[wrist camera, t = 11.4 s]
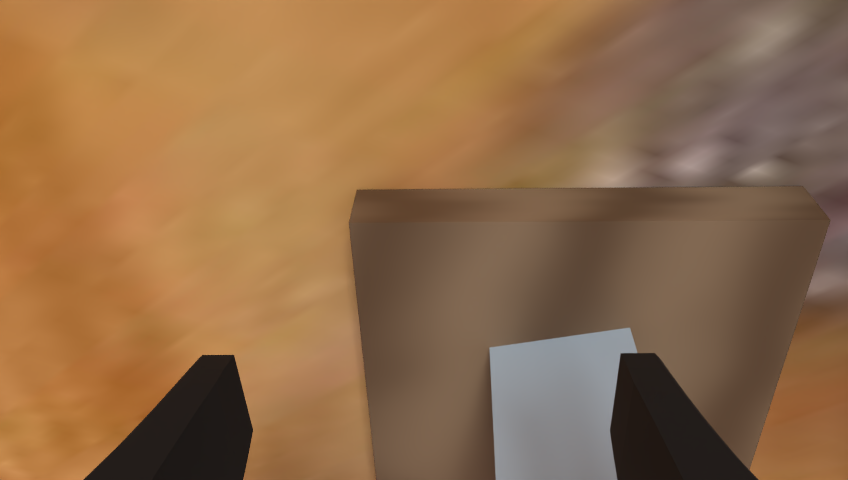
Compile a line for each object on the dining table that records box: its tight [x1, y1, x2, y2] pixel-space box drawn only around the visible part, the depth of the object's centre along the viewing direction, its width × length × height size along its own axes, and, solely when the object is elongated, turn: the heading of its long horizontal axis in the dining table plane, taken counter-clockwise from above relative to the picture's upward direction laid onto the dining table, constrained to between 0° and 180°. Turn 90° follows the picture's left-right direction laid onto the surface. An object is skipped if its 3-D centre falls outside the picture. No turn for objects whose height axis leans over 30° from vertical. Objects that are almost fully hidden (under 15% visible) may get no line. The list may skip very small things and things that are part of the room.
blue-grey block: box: [489, 328, 637, 480], centre depth 22 cm, size 5×5×7 cm
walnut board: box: [349, 186, 830, 480], centre depth 26 cm, size 14×14×2 cm
